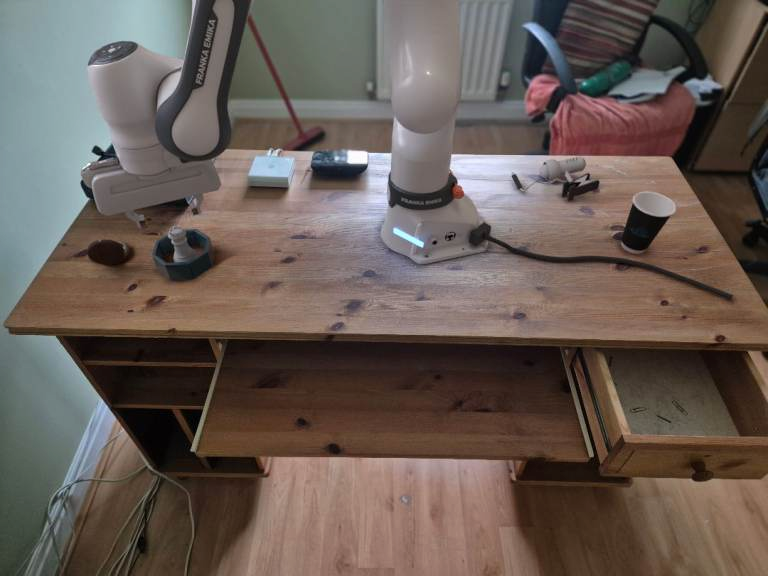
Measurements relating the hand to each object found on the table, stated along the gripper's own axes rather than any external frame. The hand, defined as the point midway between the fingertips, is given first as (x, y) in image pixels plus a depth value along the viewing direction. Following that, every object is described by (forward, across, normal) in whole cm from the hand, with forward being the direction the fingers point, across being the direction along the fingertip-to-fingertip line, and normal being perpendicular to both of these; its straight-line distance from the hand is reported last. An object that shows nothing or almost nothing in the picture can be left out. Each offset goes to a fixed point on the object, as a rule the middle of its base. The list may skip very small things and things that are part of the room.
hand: (170, 219), depth 90 cm
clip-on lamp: (+10, +83, -11) cm, 84 cm away
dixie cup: (+9, +85, -35) cm, 92 cm away
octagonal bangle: (+10, 0, 0) cm, 10 cm away
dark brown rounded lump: (+11, -13, +7) cm, 18 cm away
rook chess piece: (+11, 0, 0) cm, 11 cm away
